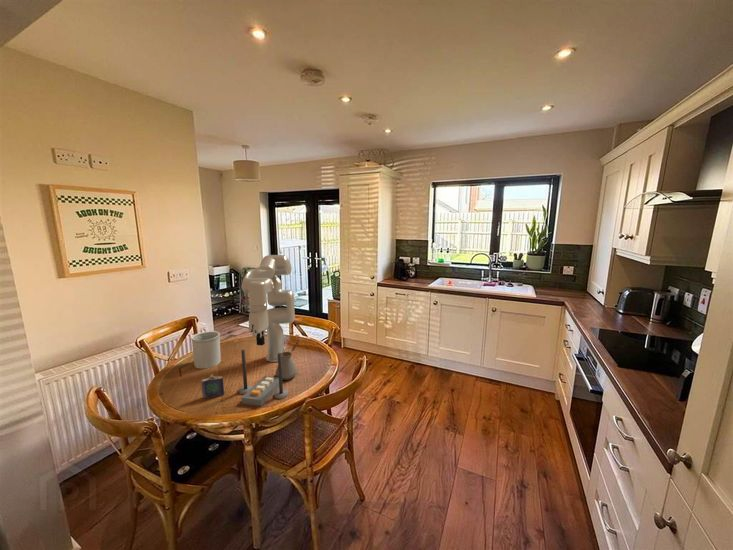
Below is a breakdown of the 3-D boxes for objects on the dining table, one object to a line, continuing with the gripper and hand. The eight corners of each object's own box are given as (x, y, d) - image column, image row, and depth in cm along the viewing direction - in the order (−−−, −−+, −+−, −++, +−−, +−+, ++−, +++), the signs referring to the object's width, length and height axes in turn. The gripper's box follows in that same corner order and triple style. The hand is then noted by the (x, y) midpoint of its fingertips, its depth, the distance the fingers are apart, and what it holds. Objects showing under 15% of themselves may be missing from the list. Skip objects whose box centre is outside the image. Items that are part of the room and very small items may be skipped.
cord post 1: (243, 386, 147) (241, 347, 143) (255, 388, 145) (252, 348, 142) (236, 393, 140) (232, 352, 137) (247, 395, 139) (245, 353, 136)
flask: (202, 399, 136) (200, 378, 134) (203, 395, 138) (201, 375, 137) (223, 395, 139) (222, 374, 137) (224, 392, 141) (223, 372, 140)
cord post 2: (278, 390, 143) (276, 350, 140) (290, 392, 142) (288, 351, 138) (271, 398, 137) (269, 355, 133) (284, 399, 136) (282, 357, 132)
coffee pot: (291, 383, 150) (289, 356, 148) (271, 380, 153) (269, 353, 150) (308, 364, 170) (308, 340, 168) (291, 362, 173) (290, 338, 171)
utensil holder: (227, 358, 178) (225, 331, 176) (212, 370, 164) (209, 340, 161) (204, 357, 180) (202, 330, 177) (187, 368, 165) (184, 339, 162)
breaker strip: (264, 381, 152) (264, 373, 151) (282, 383, 150) (282, 375, 149) (241, 403, 132) (240, 394, 132) (261, 406, 130) (260, 397, 130)
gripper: (260, 302, 142) (262, 338, 145) (241, 311, 128) (244, 350, 131) (274, 303, 141) (275, 339, 144) (256, 312, 126) (259, 352, 130)
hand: (260, 344), depth 137 cm, fingers closed
